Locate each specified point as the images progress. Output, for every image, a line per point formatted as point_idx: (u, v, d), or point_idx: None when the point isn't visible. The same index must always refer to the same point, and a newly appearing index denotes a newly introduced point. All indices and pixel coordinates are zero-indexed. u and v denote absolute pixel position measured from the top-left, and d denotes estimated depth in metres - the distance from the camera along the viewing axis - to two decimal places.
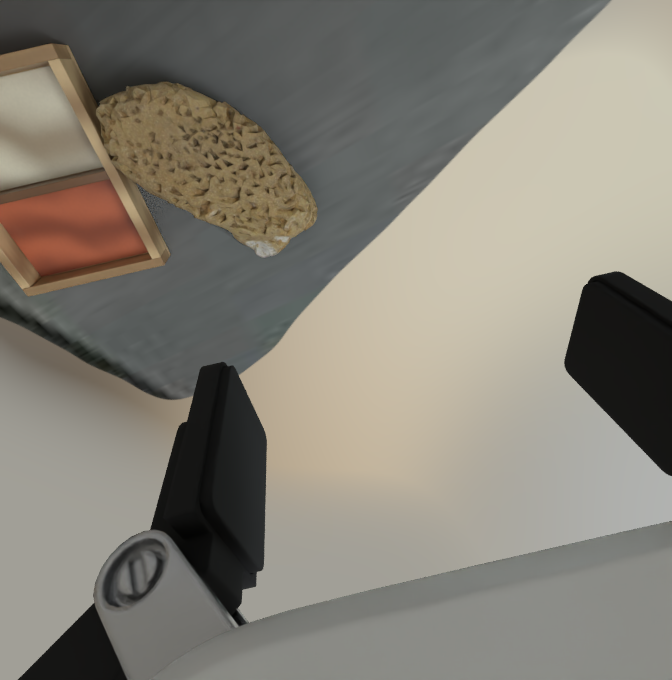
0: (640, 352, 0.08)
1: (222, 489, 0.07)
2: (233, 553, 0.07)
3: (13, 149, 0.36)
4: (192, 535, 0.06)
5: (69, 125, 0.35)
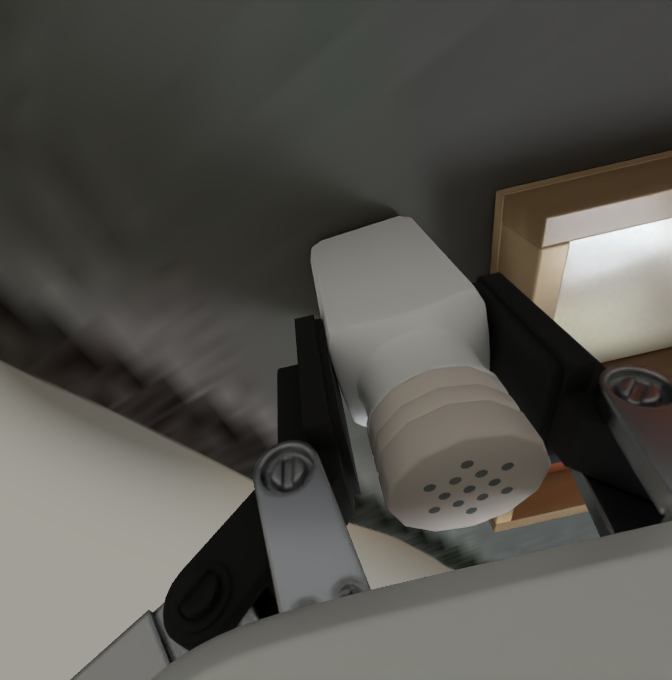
0: (505, 344, 0.09)
1: (340, 412, 0.08)
2: (344, 472, 0.08)
3: (642, 306, 0.17)
4: (321, 447, 0.07)
5: None
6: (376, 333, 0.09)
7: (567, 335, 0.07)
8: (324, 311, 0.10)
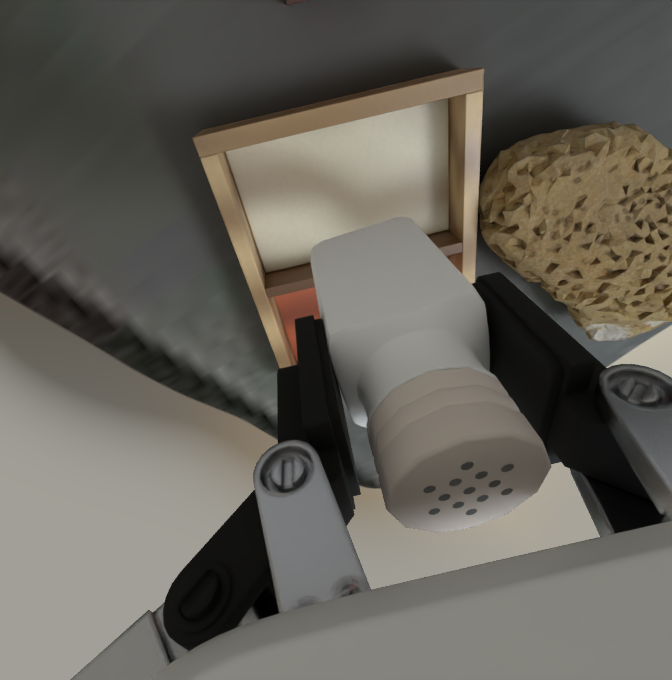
0: (505, 344, 0.09)
1: (340, 412, 0.08)
2: (344, 472, 0.08)
3: (334, 212, 0.25)
4: (321, 447, 0.07)
5: (420, 179, 0.25)
6: (376, 334, 0.09)
7: (567, 335, 0.07)
8: (324, 312, 0.10)
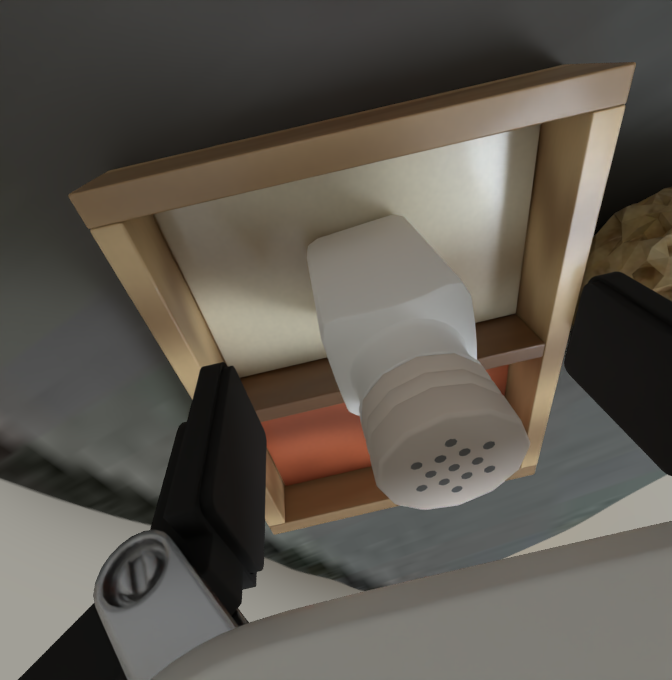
0: (640, 352, 0.08)
1: (222, 489, 0.07)
2: (233, 553, 0.07)
3: None
4: (192, 535, 0.06)
5: (480, 245, 0.15)
6: (368, 324, 0.09)
7: None
8: (319, 304, 0.10)
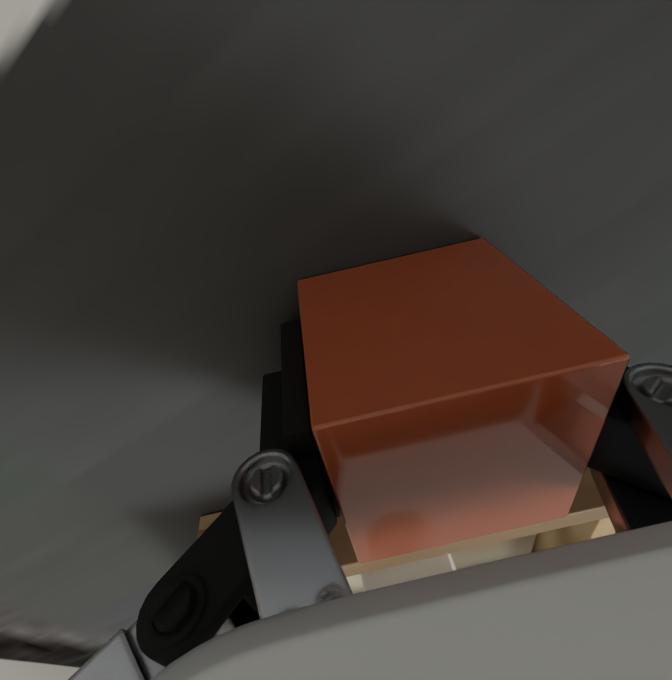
0: None
1: None
2: (328, 480, 0.08)
3: None
4: (302, 456, 0.07)
5: None
6: None
7: None
8: None
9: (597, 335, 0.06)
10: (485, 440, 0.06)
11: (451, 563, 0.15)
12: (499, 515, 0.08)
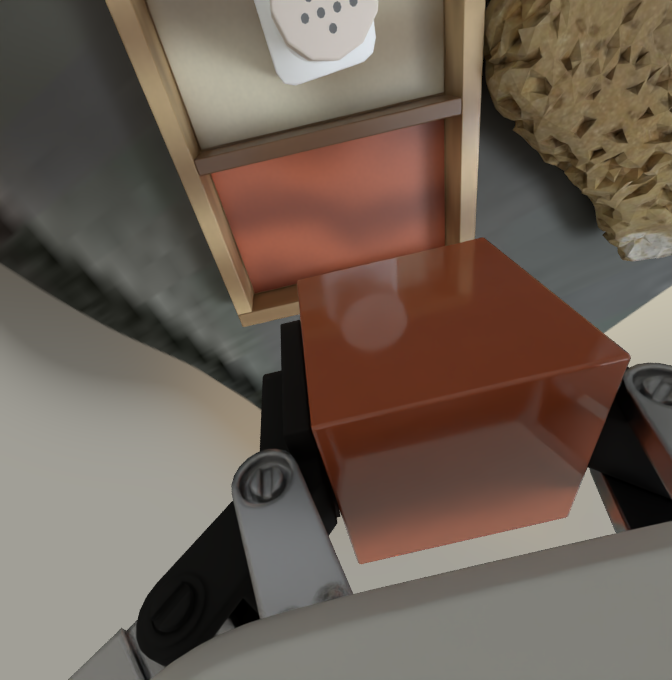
0: None
1: None
2: (328, 480, 0.08)
3: None
4: (302, 456, 0.07)
5: (404, 6, 0.18)
6: None
7: None
8: None
9: (597, 335, 0.06)
10: (484, 441, 0.06)
11: None
12: (500, 515, 0.08)
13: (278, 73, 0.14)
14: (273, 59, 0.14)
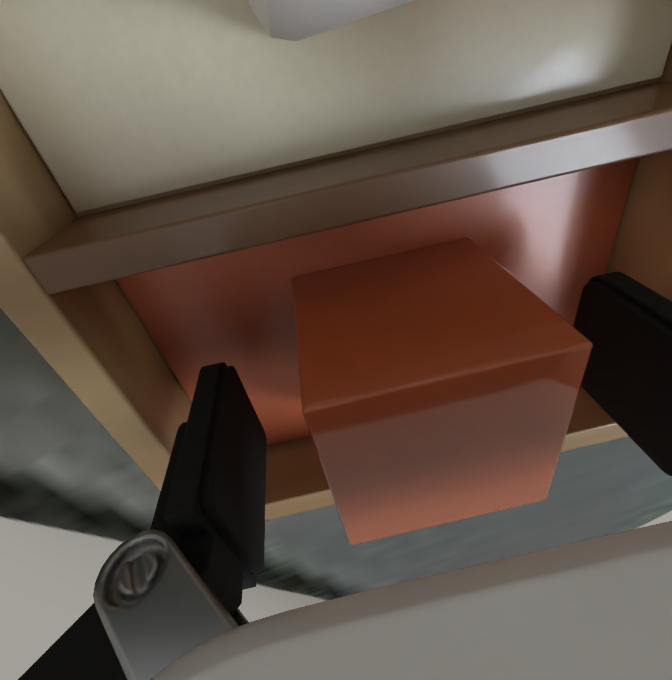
0: (640, 352, 0.08)
1: (222, 489, 0.07)
2: (233, 553, 0.07)
3: None
4: (192, 535, 0.06)
5: None
6: None
7: None
8: None
9: (565, 325, 0.07)
10: (463, 423, 0.07)
11: None
12: (481, 497, 0.09)
13: None
14: None
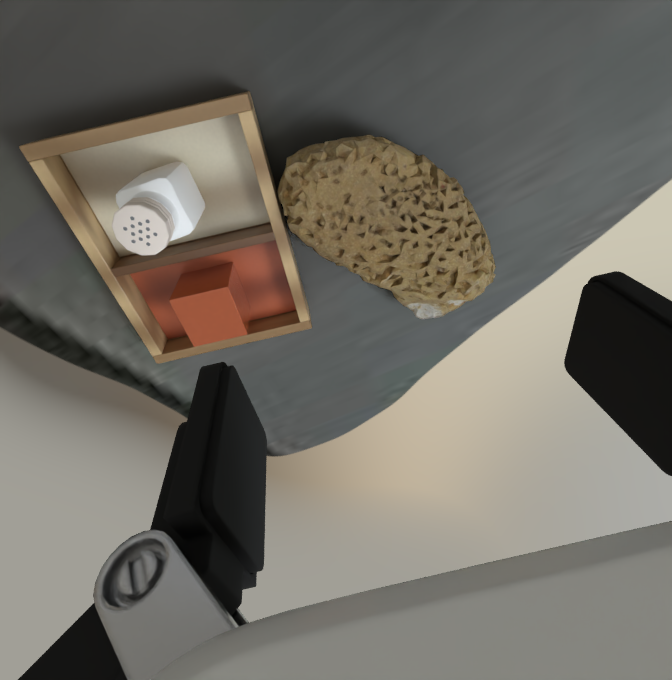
0: (640, 352, 0.08)
1: (222, 489, 0.07)
2: (233, 553, 0.07)
3: None
4: (192, 535, 0.06)
5: (234, 180, 0.30)
6: (129, 193, 0.24)
7: None
8: None
9: (226, 283, 0.31)
10: (207, 305, 0.31)
11: (181, 166, 0.28)
12: (225, 331, 0.33)
13: None
14: None
